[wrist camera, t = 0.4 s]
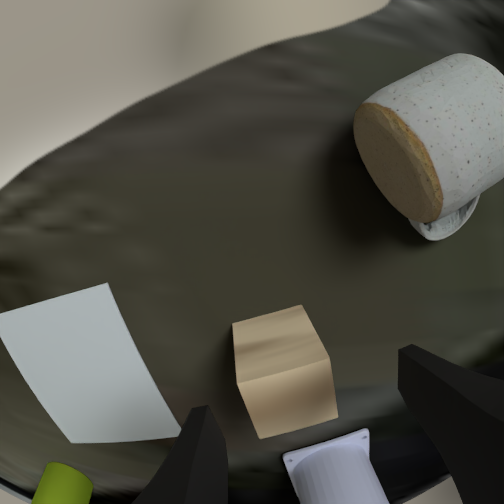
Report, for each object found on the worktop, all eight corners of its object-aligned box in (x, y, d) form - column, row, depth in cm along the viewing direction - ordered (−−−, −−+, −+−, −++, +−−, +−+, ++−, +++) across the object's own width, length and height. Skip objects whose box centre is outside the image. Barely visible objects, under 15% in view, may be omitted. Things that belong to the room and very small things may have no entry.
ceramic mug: (326, 113, 17) (393, 92, 9) (420, 64, 16) (499, 40, 9) (400, 258, 20) (472, 307, 13) (476, 198, 19) (553, 222, 12)
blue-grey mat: (184, 434, 22) (184, 435, 22) (71, 442, 22) (71, 443, 22) (107, 282, 18) (107, 283, 18) (-9, 316, 18) (-10, 316, 18)
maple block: (312, 358, 21) (338, 417, 15) (250, 376, 21) (259, 439, 15) (301, 304, 20) (329, 357, 14) (232, 323, 20) (237, 383, 14)
